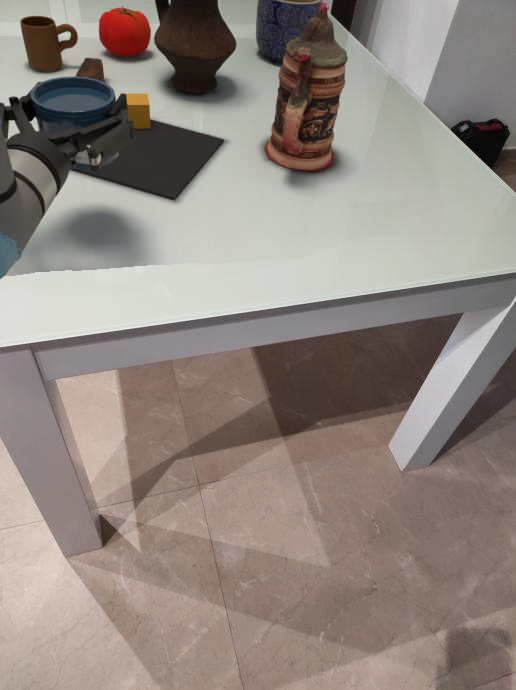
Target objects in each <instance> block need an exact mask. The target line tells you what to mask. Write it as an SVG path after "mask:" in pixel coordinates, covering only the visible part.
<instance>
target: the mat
mask: <svg viewBox="0 0 516 690" xmlns="http://www.w3.org/2000/svg"><path fill="white" fill-rule="evenodd" d="M150 124H151V129H134V133H135V140H134V141H133V142H132V143H130V144H129V145H127V146H126V147H125V148H123V149H122V150H121V151H120V154H119V156H118V157H117V158H116V159H115V160H114V161H112V162H110V163H108V164H106V165H103V166H101V168H100V170H98V171H92V170H91V169H90V168H89V169H72V168H71V169H70V171H75V172H78V173H82V174H83V175H88V176H91V177H95V178H98V179H102V180H104V181H109V182H111V183H115V184H118V185H122V186H125V187H129V188H132V189H135V190H139V191H142V192H144V193H145V192H146V193H149V194H152V195H156V196H159V197H162V198H166V199H169V200H173V201H175V200H176V199H177V198H178V196H179V195H180V194H181V193H182V191H183V190H185V188H186V187H187V186H188V185H189V184H190V182H191V181H192V180H193V179H194V177H195V176H196V175H197V174H198V173H199V171H200V170H201V169H202V168H203V167H204V165H205V164H206V163H207V162H208V161H209V160H210V158H211V157H212V156H213V155H214V153H216V151H217V150H218V149H219V148H220V146H221V145H223V143H224V142H225V139H224V138H222V137H218V136H213V135H210V134H206V133H202V132H198V131H195V130H192V129H188V128H185V127H184V128H183V127H180V126H176V125H173V124H170V123H165V122H162V121H158V120H154V119H152V118H150Z"/></svg>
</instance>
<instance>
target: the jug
mask: <svg viewBox="0 0 516 690" xmlns="http://www.w3.org/2000/svg"><path fill="white" fill-rule="evenodd" d="M154 4H155V8H156V9H155V10H156V13H157V17H158V23H159V26H158V28H157V29H156V31H155V33H154V36H153V41H154V45H155V47H156V48H157V50H158V51H159V53H161V54H162V55H163V56H164V58H166V60H167V61H168V63H169V64H170V65H171V66H172V67H173V68H174V73H173V74H172V76H171V78H170V80H171V81H170V82H171V84H172V88H173V89H174V90H175V91H177V92H180V93H183V94H186V95H205V94H207V93H212V92H213V91H214V90H216V89H217V88H218V84H219V82H218V79H217V76H216V75H217V72H218V71H219V70H220V69H221V67H222V66H223V65H224V64H225V62H226V61H227V60H228V59H229V58H230V57H231V56H232V55H233V54H234V52H235V51H236V49H237V39H236V38H235V36H234V34H233V32H232V31H231V29H230V28H229V26H228V25H227V23H226V22H225V20H224V18H223V16H222V14H221V11H220V8H219V0H170V1H169V0H154Z"/></svg>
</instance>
